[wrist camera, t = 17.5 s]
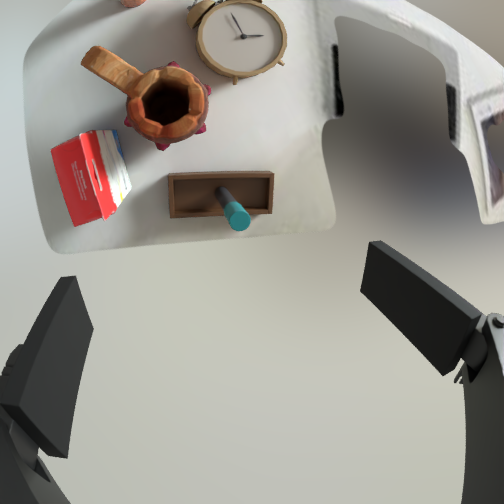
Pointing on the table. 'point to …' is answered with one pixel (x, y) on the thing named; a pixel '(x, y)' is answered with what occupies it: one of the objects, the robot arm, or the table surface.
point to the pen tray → (205, 183)
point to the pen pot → (132, 2)
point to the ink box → (91, 175)
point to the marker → (232, 210)
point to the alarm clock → (238, 36)
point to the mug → (155, 97)
